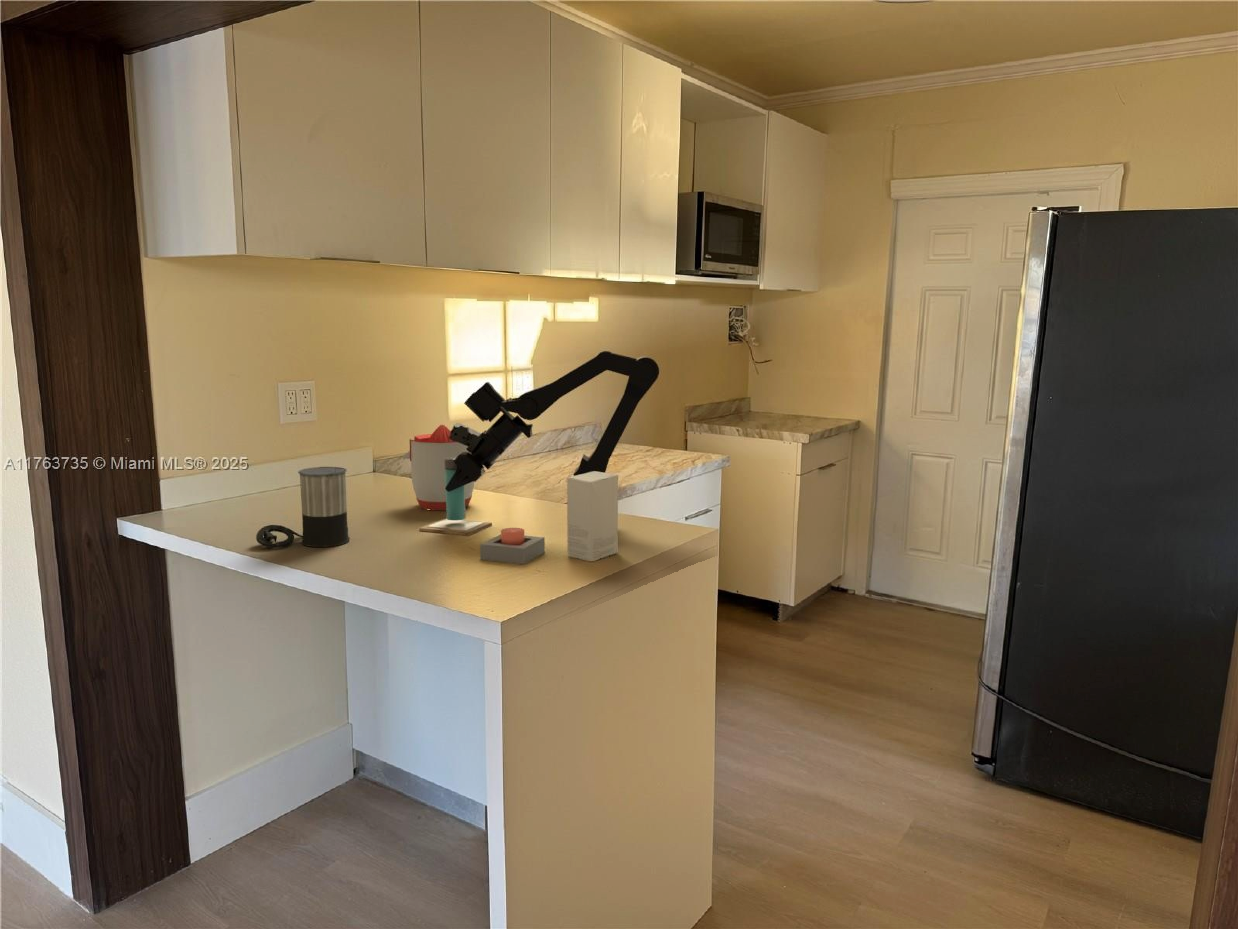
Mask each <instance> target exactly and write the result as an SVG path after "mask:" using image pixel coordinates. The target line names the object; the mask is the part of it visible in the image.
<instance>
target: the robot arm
mask: <svg viewBox="0 0 1238 929" xmlns="http://www.w3.org/2000/svg"><path fill="white" fill-rule="evenodd" d="M606 371H610V372H612V373H613V372H614V373H616V374H618V375H619V374H620V375H623V376H627V377H628V378H627V382H626V385H625V388H624V392H623V393H622V394H623V395H622V396H621V397H620V398H621V399H620V401H619V402H618V404H617V406H616V408H615V410H614V411H613V414H612V416H611V417H610V420H609V422H608V424H607V426H606V428H605V429H604V431H603V434H602V436H601V438H600V439H599V441H598V443H597V445H596V447H595V449H594V450H593V452H592V453H591V454H590V456H587V455H586V454H583V455H582V457H581V461H580V463H579V465H578V466H577V467H576V469H574V472H573V475H572V476H576V475H580V474H585V473H589V472H593V471H597V472H603V473H607V472H606V470H607V467H608V465H609V461H610V459H611V457H612V455H613V453H614V451H615V448H616V447H617V445H618V443H619V441H620V440H621V437H622V435H623V433H624V431H625V430H626V427H628V426H627V425H628V424H629V422H630V420H631V419H632V416H633V414H634V412H635V410H636V409H637V406H638V405H639V403H640V401H641V400H642V399H643V398H644V397H645V396H646V394H647V393H648V392H649V391H650V389H651V388H652V386H653V385H654V384H655V383H656V381H657V380H658V378H659V374H660V367H659V365H658V363H657V361H656V360H655V359H654V358H652V357H649V356H640V357H638V358H635V357H630V356H626V355H623V354H617V353H614V352H612V351H610V350H602V351H600V352H599V353H598V354H597V355H596V356H594V357H593V358H590V359H589V360H587V361H586V362H585V363H582V364H580V365H579V366H577V367H576V368H574V369H573V370H570V371H569V372H568V373H566V374H564V375H563V376H561V377H560V378H557V379H556V380H554V381H552V382H549V383H547V384H545V385H541V386H538V387H535V388H534V389H531V390H529V391H526V392H524V393H521V395H519V396H518V397H513V398H512V397H509V398H507V399H505V398H504V397H503V396H502V395H501V394H500V393H499V392H498V391H497V390H496V389H495V387H494V386H493V385H492V384H491V383H490V382H489V381H487V382H485V383H484V384H483V385H482V386H481V387H479V388H478V389H477V390H476V391H474V392H473V393H472V394H470V396H469V397H468V398H467V399H466V400H465V401H464V403H463V404H464V405H465V406H466V407H467V408H468V409H469V410H470V411H471V412H472V413H473V414H475V416H477V418H478V419H480V420H481V422H483V423H484V422H489V423H492V422H493V421H494V420H495V419H496V418H497V417H498V416H499V414H500V413H502V415H501V416H500V417H499V418H497V420H495V421H494V423H492V425H490V427H489V428H488V429H487V430H484V431H482V432H478V431H477V430H474V428H473V429H472V428H471V427H470V426H469V427H468V425H464V424H462V423H460V422H459V423H458V422H457V423H454V424H453V426H452V429H451V430H450V432H451V433H450V435H449V439H450V440H452V441H457V442H459V443H461V444H463V445H465V446H468V447H467V449H466V450H467V451H469V452H470V453H469V452H462V453H461V454H459V455H458V456H457V457H456V458H455V460H454V463H455V464H456V466H457V470H456V472H455V473H454V475H453V476H452V478H451V480H450V481H449V483H448V484H447V486H446V488H445V489H446V490H447V491H448V492H450V491H452V490H454V489H457V488H459V487H461V486H464V485H466V484H468V483H471V482H473V481H474V483H476V482H477V481H478V480H479V479H480V478H481V477H482V476H483V475H484V474H485V473H486V470H489V469H491V467H492V466H493V465H494V464H495V463H496V460H498V458H499V457H500V456H501V455H503V453H504V452H505V451H507V450H508V448H509V447H510V446H511V445H512V444H513V443H514V442H515V441H516V440H518V438H519V437H520V436H521V435H522V434H523V435H525V437H526V438H527V439H530V438H532V436H533V426H534V425H533V423H526V422H525V421H524V420H526V421H534V420H536V419H537V418H539V417H540V416H541V415H542V414H544V413H545V412H546V411H547V410H548V409H549V408H550V407H552V406H553V405H554V404H555V403H556V402H557V401H558V400H560V399H561V398H563V397H564V396H565V395H568V394H569V393H570V392H572V391H574V390H576V389H577V388H580V387H581V386H582V385H584V384H585V383H587V382H589V381H591V380H592V379H594V378H595V377H597V376H599V375H600V374H603V373H604V372H606ZM511 413H514V414H516V416H515V415H513V414H511ZM485 468H486V470H485Z"/></svg>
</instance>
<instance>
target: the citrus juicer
mask: <svg viewBox="0 0 1238 929" xmlns="http://www.w3.org/2000/svg"><path fill="white" fill-rule="evenodd" d="M450 431H451V430H450V429H449V427H447V426H446V425H445V424H440V425H439V426H438V427H436V429H435V430H434V431H433V432H432V433H426V434H419V435H413V436H414V439H409V451H407V452H406V453H404V454H403V455H402V460H408V459H409V461H410V468H411V469H410V475H411V482H412V487H413V491H414V493H415V494H414V495H415V497H416V498H415V499H416V501H417V503H418V505H419V507H420V508H421V509H424V510H425V509H430V510H429V511H434V510H435V511H446V489H445V488H446V484H445V468H444V459H445V458H452V457H457V456H458V455H459V454H461V453H462V452H469V451H467V450H466V449H467V447H468V446H465V445H463V444H461V443H459V442H457V441H452V440H450V439H449V435H450V433H451V432H450ZM469 453H470V452H469ZM474 487H475V482H474V481H473V482H471V483H468V484H466V485H465V508H466V507H468V506H469V505H470V502H471V500H472V497H473V492H474Z"/></svg>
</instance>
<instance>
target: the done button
mask: <svg viewBox="0 0 1238 929" xmlns="http://www.w3.org/2000/svg"><path fill="white" fill-rule="evenodd" d="M500 534H501V544H509V545H519V546H520V545H521V544H523V543H525V541H524V535H525V529H524V528H520V527H507V528H503V529H501V530H500Z"/></svg>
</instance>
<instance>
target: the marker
mask: <svg viewBox="0 0 1238 929" xmlns="http://www.w3.org/2000/svg"><path fill="white" fill-rule="evenodd" d="M455 458H456V457H452V458H445V459H444V468H445V484H446V486H447V484H448V483H449V481H450V480H451V478H452V476H453V475H454V473H455V472H456V470H457V466H456V464H455V463H454V460H455ZM445 511H446V512H445V513H446V515H445V516H446V518H447V520H466V507H465V485H464V486H461V487H459V488H457V489H454V490H452V491H450V492H448V491H447V490H446V510H445Z"/></svg>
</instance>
